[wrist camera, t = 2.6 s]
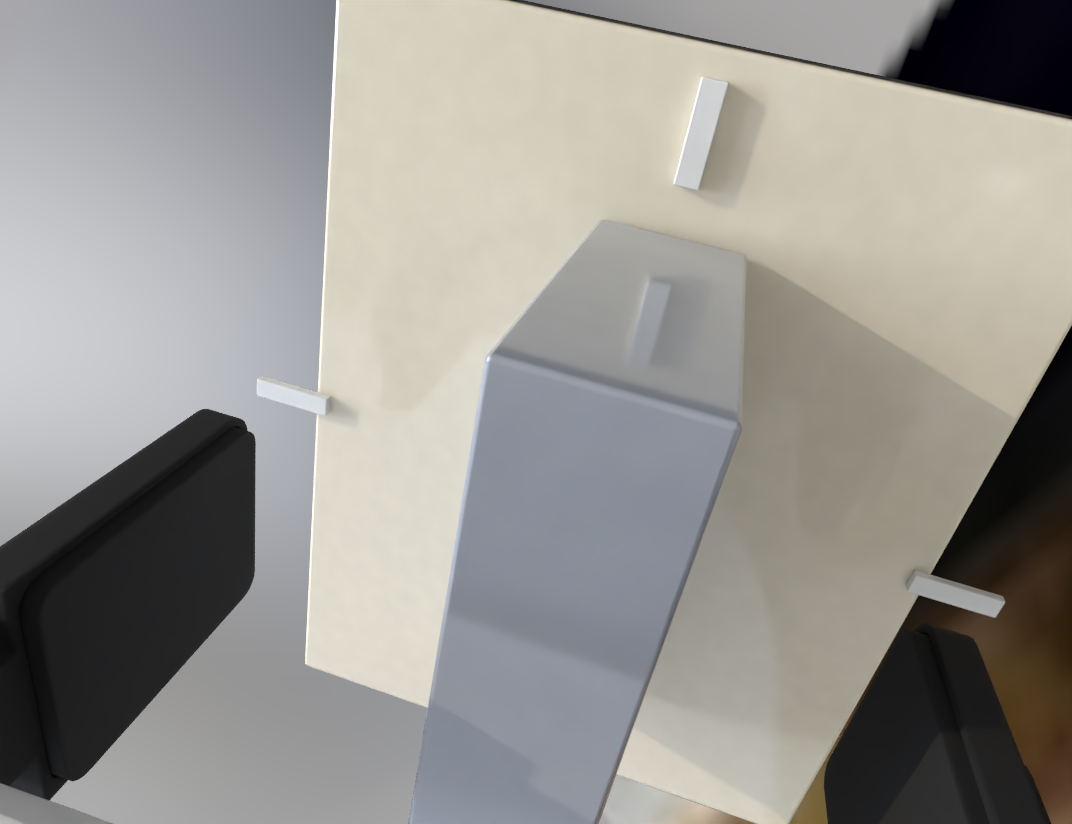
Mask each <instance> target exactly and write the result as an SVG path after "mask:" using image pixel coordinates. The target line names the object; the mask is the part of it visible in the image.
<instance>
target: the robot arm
mask: <svg viewBox="0 0 1072 824" xmlns="http://www.w3.org/2000/svg"><path fill="white" fill-rule="evenodd" d="M254 571H255V437H254V435H253V434H252V433H251V432H248V431H247V426H246V424H245V422H244V421H243V420H241V419H239V418H236V417H233V416H229V415H226V414H222V413H219V412H216V411H213V410H209V409H202V410H200V411H198V412H196V413H195V414H193V415H192V416H190V417H189V418H187V419H186V420H185V421H183V422H182V423H180V424H179V425H177V426H176V427H174V428H173V429H171V430H170V431H168V432H167V433H166V434H164V435H163V436H162V437H160V438H158V439H157V440H155V441H154V442H152V443H151V444H150V445H148V446H147V447H145V448H144V449H142V450H141V451H139V452H138V453H136V454H135V455H133V456H132V457H131V458H129V459H128V460H126V461H125V462H123V463H122V464H120V465H119V466H117V467H116V468H114V469H113V470H112V471H110V472H109V473H107V474H106V475H104V476H103V477H101V478H100V479H99V480H97V481H96V482H94V483H93V484H91V485H90V486H88V487H87V488H86V489H84V490H82V491H81V492H79V493H78V494H76V495H75V496H74V497H72V498H71V499H69V500H68V501H66V502H65V503H63V504H62V505H61V506H59V507H57V508H56V509H55V510H53V511H52V512H50V513H49V514H47V515H46V516H44V517H43V518H42V519H40V520H38V521H37V522H36V523H34V524H33V525H31V526H30V527H28V528H27V529H25V530H24V531H22V532H21V533H19V534H18V535H17V536H15V537H14V538H12V539H11V540H9V541H8V542H7V543H5V544H4V545H2V546H1V547H0V824H112V823H109V822H107V821H104V820H101V819H98V818H96V817H93V816H91V815H88V814H85V813H83V812H80V811H77V810H75V809H71V808H69V807H66V806H63V805H60V804H58V803H55V802H52V801H49V800H50V799H51V798H52V797H53V796H54V795H55V794H56V793H57V791H58V790H59V789H60V788H61V787H62V786H63V785H64V784H65V783H66V782H67V780H71V781H75V780H78V779H80V778H81V777H83V776H84V775H85V774H86V773H87V772H88V771H89V770H90V769H91V768H92V767H93V766H94V765H95V764H96V762H97V761H98V760H99V759H100V758H101V757H102V756H103V755H104V753H105V752H106V751H107V750H108V749H109V748H110V747H111V745H112V744H113V743H114V742H115V741H116V740H117V739H118V738H119V737H120V736H121V734H122V733H123V732H124V731H125V730H126V729H127V728H128V727H129V725H130V724H131V723H132V722H133V721H134V720H135V719H136V718H137V716H138V715H139V714H140V713H141V712H142V711H143V710H144V709H145V707H146V706H147V705H148V704H149V703H150V702H151V701H152V700H153V698H154V697H155V696H156V695H157V694H158V693H159V692H160V691H161V689H162V688H163V687H164V686H165V685H166V684H167V683H168V682H169V681H170V679H171V678H172V677H173V676H174V675H175V674H176V673H177V672H178V670H179V669H180V668H181V667H182V666H183V665H184V664H185V663H186V661H187V660H188V659H189V658H190V657H191V656H192V655H193V654H194V652H195V651H196V650H197V649H198V648H199V647H200V646H201V644H202V643H203V642H204V641H205V640H206V639H207V638H208V637H209V636H210V634H211V633H212V632H213V631H214V630H215V629H216V628H217V627H218V626H219V624H220V623H221V622H222V621H223V620H224V619H225V618H226V616H227V615H228V614H229V613H230V612H231V611H232V610H233V609H234V608H235V606H236V605H237V604H238V603H239V602H240V601H241V600H242V599H243V597H244V596H245V595H246V594H247V592H248V590H249V588H250V586H251V584H252V581H253V578H254ZM824 791H825V800H826V809H827V818H828V824H1051V822H1050V819H1049V817H1048V814H1047V812H1046V809H1045V807H1044V804H1043V802H1042V799H1041V797H1040V794H1039V792H1038V789H1037V787H1036V784H1035V782H1034V779H1033V777H1032V775H1031V774H1030V772H1029V770H1028V768H1027V767H1026V766H1025V765H1024V764H1023V761H1022V759H1021V756H1020V754H1019V751H1018V749H1017V746H1016V744H1015V741H1014V738H1013V736H1012V733H1011V731H1010V728H1009V726H1008V723H1007V721H1006V718H1005V715H1004V713H1003V710H1002V708H1001V705H1000V703H999V700H998V698H997V695H996V693H995V690H994V687H993V685H992V682H991V680H990V677H989V675H988V672H987V670H986V667H985V664H984V662H983V659H982V657H981V654H980V652H979V649H978V647H977V644H976V643H975V641H974V639H972V638H971V637H969V636H967V635H963V634H960V633H957V632H953V631H950V630H947V629H943V628H940V627H936V626H933V625H930V624H922V625H920V626H919V627H918V628H917V629H916V630H915V632H914V631H911V630H904V631H903V632H901V634H900V635H899V637H898V638H897V640H896V642H895V644H894V645H893V647H892V649H891V651H890V652H889V654H888V656H887V658H886V659H885V661H884V663H883V665H882V667H881V668H880V670H879V672H878V674H877V675H876V677H875V679H874V681H873V682H872V684H871V686H870V688H869V690H868V691H867V693H866V695H865V697H864V698H863V700H862V702H861V704H860V705H859V707H858V709H857V711H856V713H855V714H854V716H853V718H852V720H851V721H850V723H849V725H848V727H847V728H846V730H845V732H844V734H843V736H842V737H841V739H840V741H839V743H838V744H837V746H836V748H835V750H834V751H833V753H832V755H831V757H830V759H829V761H828V763H827V767H826V771H825V777H824Z"/></svg>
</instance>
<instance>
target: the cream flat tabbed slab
mask: <svg viewBox="0 0 1072 824" xmlns="http://www.w3.org/2000/svg"><path fill="white" fill-rule="evenodd" d="M332 86H333V87H332V106H331V107H332V108H331V129H330V150H329V170H328V191H327V212H326V233H325V254H324V277H323V297H322V318H321V341H320V362H319V381H318V392H315V391H311V390H308V389H305V388H301V387H298V386H294V385H291V384H288V383H284V382H281V381H278V380H274V379H271V378H268V377H264V376H260V377H259V378H258V379H257V395H258V396H261V397H264V398H267V399H271V400H274V401H277V402H281V403H284V404H287V405H291V406H294V407H297V408H300V409H304V410H307V411H310V412H314V413H317V423H316V445H315V467H314V487H313V508H312V530H311V550H310V571H309V572H310V573H309V592H308V614H307V635H306V656H305V664H306V665H307V666H310V667H313V668H315V669H318V670H321V671H324V672H327V673H330V674H332V675H335V676H338V677H341V678H344V679H346V680H349V681H352V682H355V683H358V684H361V685H364V686H366V687H369V688H372V689H375V690H378V691H381V692H383V693H386V694H389V695H392V696H395V697H398V698H400V699H403V700H406V701H409V702H412V703H415V704H417V705H420V706H423V707H426V708H428V702H429V696H430V690H431V684H432V678H433V672H434V666H435V659H436V653H437V647H438V641H439V635H440V629H441V623H442V617H443V611H444V605H445V599H446V593H447V587H448V581H449V574H450V568H451V562H452V556H453V550H454V544H455V538H456V532H457V526H458V520H459V514H460V508H461V502H462V496H463V489H464V483H465V477H466V471H467V465H468V459H469V453H470V447H471V441H472V435H473V429H474V423H475V417H476V410H477V404H478V398H479V392H480V386H481V380H482V374H483V368H484V362H485V357H486V356H487V354H488V353H489V352H490V351H491V349H492V348H493V347H494V346H495V345H496V343H497V342H498V341H499V340H500V339H501V338H502V336H503V335H504V334H505V333H506V332H507V330H508V329H509V328H510V327H511V326H512V324H513V323H514V322H515V321H516V320H517V318H518V317H519V316H520V315H521V314H522V312H523V311H524V310H525V309H526V308H527V306H528V305H529V304H530V303H531V302H532V300H533V299H534V298H535V297H536V296H537V294H538V293H539V292H540V291H541V290H542V288H543V287H544V286H545V285H546V284H547V282H548V281H549V280H550V279H551V278H552V276H553V275H554V274H555V273H556V272H557V270H558V269H559V268H560V267H561V266H562V265H563V263H564V262H565V261H566V260H567V259H568V257H569V256H570V255H571V254H572V253H573V251H574V250H575V249H576V248H577V247H578V245H579V244H580V243H581V242H582V241H583V239H584V238H585V237H586V236H587V235H588V233H589V232H590V231H591V230H592V229H593V227H594V226H595V225H596V224H597V223H598V221H599V220H601V219H605V220H609V221H613V222H618V223H622V224H626V225H630V226H634V227H638V228H642V229H646V230H650V231H654V232H658V233H662V234H666V235H670V236H674V237H678V238H682V239H686V240H690V241H694V242H698V243H702V244H706V245H710V246H714V247H718V248H722V249H726V250H730V251H734V252H738V253H742V254H744V255H746V256H747V273H746V309H745V345H744V381H743V418H742V432H741V435H740V437H739V440H738V443H737V446H736V448H735V451H734V454H733V457H732V459H731V462H730V465H729V468H728V470H727V473H726V476H725V478H724V481H723V484H722V487H721V489H720V492H719V495H718V498H717V500H716V503H715V506H714V509H713V511H712V514H711V517H710V519H709V522H708V525H707V528H706V530H705V533H704V536H703V539H702V541H701V544H700V547H699V550H698V552H697V555H696V558H695V561H694V563H693V566H692V569H691V571H690V574H689V577H688V580H687V582H686V585H685V588H684V591H683V593H682V596H681V599H680V602H679V604H678V607H677V610H676V613H675V615H674V618H673V621H672V623H671V626H670V629H669V632H668V634H667V637H666V640H665V643H664V645H663V648H662V651H661V654H660V656H659V659H658V662H657V664H656V667H655V670H654V673H653V675H652V678H651V681H650V684H649V686H648V689H647V692H646V695H645V697H644V700H643V703H642V706H641V708H640V711H639V714H638V716H637V719H636V722H635V725H634V727H633V730H632V733H631V736H630V738H629V741H628V744H627V747H626V749H625V752H624V755H623V758H622V760H621V763H620V766H619V768H618V771H617V774H616V775H619V776H622V777H625V778H627V779H630V780H633V781H636V782H639V783H642V784H644V785H647V786H650V787H653V788H656V789H659V790H661V791H664V792H667V793H670V794H673V795H676V796H678V797H681V798H684V799H687V800H690V801H693V802H696V803H698V804H701V805H704V806H707V807H710V808H713V809H715V810H718V811H721V812H724V813H727V814H730V815H732V816H735V817H738V818H741V819H744V820H747V821H749V822H752V823H755V824H789V823H790V821H791V819H792V818H793V816H794V814H795V812H796V810H797V809H798V807H799V805H800V803H801V802H802V800H803V798H804V796H805V795H806V793H807V791H808V789H809V788H810V786H811V784H812V782H813V781H814V779H815V777H816V775H817V773H818V772H819V770H820V768H821V766H822V765H823V763H824V761H825V759H826V758H827V756H828V754H829V752H830V751H831V749H832V747H833V745H834V743H835V742H836V740H837V738H838V736H839V735H840V733H841V731H842V729H843V728H844V726H845V724H846V722H847V721H848V719H849V717H850V715H851V714H852V712H853V710H854V708H855V706H856V705H857V703H858V701H859V699H860V698H861V696H862V694H863V692H864V691H865V689H866V687H867V685H868V684H869V682H870V680H871V678H872V676H873V675H874V673H875V671H876V669H877V668H878V666H879V664H880V662H881V661H882V659H883V657H884V655H885V654H886V652H887V650H888V648H889V647H890V645H891V643H892V641H893V639H894V638H895V636H896V634H897V632H898V631H899V629H900V627H901V625H902V624H903V622H904V620H905V618H906V617H907V615H908V613H909V611H910V609H911V608H912V606H913V604H914V602H915V601H916V599H917V597H918V595H920V596H924V597H927V598H930V599H934V600H937V601H940V602H944V603H947V604H950V605H954V606H957V607H960V608H963V609H967V610H970V611H973V612H977V613H980V614H983V615H987V616H990V617H993V618H996V616H997V615H998V613H999V611H1000V610H1001V608H1002V607H1003V605H1004V604H1005V600H1004V598H1003V596H1001V595H998V594H994V593H991V592H987V591H984V590H981V589H977V588H974V587H971V586H967V585H964V584H961V583H957V582H954V581H950V580H947V579H944V578H940V577H937V576H934V575H930V574H931V572H932V571H933V569H934V567H935V565H936V564H937V562H938V560H939V558H940V557H941V555H942V553H943V551H944V550H945V548H946V546H947V544H948V543H949V541H950V539H951V537H952V535H953V534H954V532H955V530H956V528H957V527H958V525H959V523H960V521H961V520H962V518H963V516H964V514H965V513H966V511H967V509H968V507H969V505H970V504H971V502H972V500H973V498H974V497H975V495H976V493H977V491H978V490H979V488H980V486H981V484H982V483H983V481H984V479H985V477H986V476H987V474H988V472H989V470H990V468H991V467H992V465H993V463H994V461H995V460H996V458H997V456H998V454H999V453H1000V451H1001V449H1002V447H1003V446H1004V444H1005V442H1006V440H1007V438H1008V437H1009V435H1010V433H1011V431H1012V430H1013V428H1014V426H1015V424H1016V423H1017V421H1018V419H1019V417H1020V416H1021V414H1022V412H1023V410H1024V409H1025V407H1026V405H1027V403H1028V401H1029V400H1030V398H1031V396H1032V394H1033V393H1034V391H1035V389H1036V387H1037V386H1038V384H1039V382H1040V380H1041V379H1042V377H1043V375H1044V373H1045V371H1046V370H1047V368H1048V366H1049V364H1050V363H1051V361H1052V359H1053V357H1054V356H1055V354H1056V352H1057V350H1058V349H1059V347H1060V345H1061V343H1062V342H1063V340H1064V338H1065V336H1066V334H1067V333H1068V331H1069V329H1070V327H1071V326H1072V116H1068V115H1064V114H1059V113H1054V112H1049V111H1045V110H1040V109H1035V108H1030V107H1026V106H1021V105H1016V104H1011V103H1007V102H1002V101H997V100H992V99H988V98H983V97H978V96H973V95H969V94H964V93H959V92H955V91H950V90H945V89H940V88H936V87H931V86H926V85H921V84H917V83H912V82H907V81H902V80H898V79H893V78H888V77H883V76H879V75H874V74H869V73H864V72H860V71H855V70H850V69H845V68H841V67H836V66H831V65H826V64H822V63H817V62H812V61H808V60H802V59H798V58H793V57H789V56H784V55H779V54H774V53H770V52H765V51H760V50H755V49H750V48H746V47H741V46H736V45H732V44H726V43H722V42H718V41H713V40H708V39H703V38H699V37H694V36H689V35H684V34H680V33H675V32H670V31H665V30H661V29H656V28H651V27H646V26H642V25H637V24H632V23H627V22H622V21H618V20H613V19H608V18H604V17H599V16H594V15H590V14H585V13H580V12H575V11H570V10H566V9H561V8H556V7H552V6H546V5H542V4H537V3H533V2H528V1H523V0H337V1H336V23H335V43H334V66H333V85H332Z"/></svg>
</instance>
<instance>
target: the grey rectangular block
mask: <svg viewBox="0 0 1072 824" xmlns="http://www.w3.org/2000/svg"><path fill="white" fill-rule="evenodd" d="M746 273H747V256H746V255H744V254H742V253H738V252H734V251H730V250H726V249H722V248H718V247H714V246H710V245H706V244H702V243H698V242H694V241H690V240H686V239H682V238H678V237H674V236H670V235H666V234H662V233H658V232H654V231H650V230H646V229H642V228H638V227H634V226H630V225H626V224H622V223H618V222H613V221H609V220H605V219H601V220H599V221H598V223H597V224H596V225H595V226H594V227H593V229H592V230H591V231H590V232H589V233H588V235H587V236H586V237H585V238H584V239H583V241H582V242H581V243H580V244H579V245H578V247H577V248H576V249H575V250H574V251H573V253H572V254H571V255H570V256H569V257H568V259H567V260H566V261H565V262H564V263H563V265H562V266H561V267H560V268H559V269H558V270H557V272H556V273H555V274H554V275H553V276H552V278H551V279H550V280H549V281H548V282H547V284H546V285H545V286H544V287H543V288H542V290H541V291H540V292H539V293H538V294H537V296H536V297H535V298H534V299H533V300H532V302H531V303H530V304H529V305H528V306H527V308H526V309H525V310H524V311H523V312H522V314H521V315H520V316H519V317H518V318H517V320H516V321H515V322H514V323H513V324H512V326H511V327H510V328H509V329H508V330H507V332H506V333H505V334H504V335H503V336H502V338H501V339H500V340H499V341H498V342H497V343H496V345H495V346H494V347H493V348H492V349H491V351H490V352H489V353H488V354H487V356H486V357H485V362H484V368H483V374H482V380H481V386H480V392H479V398H478V404H477V410H476V417H475V423H474V429H473V435H472V441H471V447H470V453H469V459H468V465H467V471H466V477H465V483H464V489H463V496H462V502H461V508H460V514H459V520H458V526H457V532H456V538H455V544H454V550H453V556H452V562H451V568H450V574H449V581H448V587H447V593H446V599H445V605H444V611H443V617H442V623H441V629H440V635H439V641H438V647H437V653H436V659H435V666H434V672H433V678H432V684H431V690H430V696H429V702H428V708H427V714H426V720H425V726H424V732H423V739H422V745H421V751H420V757H419V763H418V769H417V776H416V781H415V787H414V793H413V799H412V805H411V811H410V818H409V824H598V823H599V820H600V817H601V815H602V812H603V810H604V807H605V804H606V801H607V799H608V796H609V793H610V790H611V788H612V785H613V782H614V779H615V777H616V774H617V771H618V768H619V766H620V763H621V760H622V758H623V755H624V752H625V749H626V747H627V744H628V741H629V738H630V736H631V733H632V730H633V727H634V725H635V722H636V719H637V716H638V714H639V711H640V708H641V706H642V703H643V700H644V697H645V695H646V692H647V689H648V686H649V684H650V681H651V678H652V675H653V673H654V670H655V667H656V664H657V662H658V659H659V656H660V654H661V651H662V648H663V645H664V643H665V640H666V637H667V634H668V632H669V629H670V626H671V623H672V621H673V618H674V615H675V613H676V610H677V607H678V604H679V602H680V599H681V596H682V593H683V591H684V588H685V585H686V582H687V580H688V577H689V574H690V571H691V569H692V566H693V563H694V561H695V558H696V555H697V552H698V550H699V547H700V544H701V541H702V539H703V536H704V533H705V530H706V528H707V525H708V522H709V519H710V517H711V514H712V511H713V509H714V506H715V503H716V500H717V498H718V495H719V492H720V489H721V487H722V484H723V481H724V478H725V476H726V473H727V470H728V468H729V465H730V462H731V459H732V457H733V454H734V451H735V448H736V446H737V443H738V440H739V437H740V435H741V432H742V418H743V381H744V345H745V309H746Z"/></svg>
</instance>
